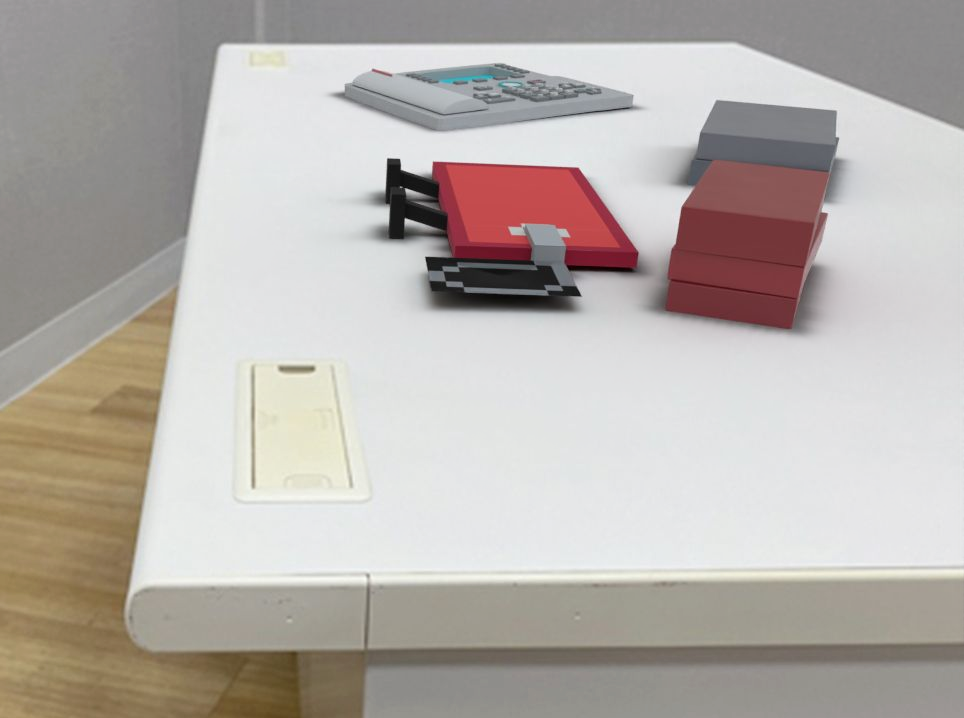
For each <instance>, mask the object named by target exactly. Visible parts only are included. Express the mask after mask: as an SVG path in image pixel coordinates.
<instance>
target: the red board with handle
mask: <svg viewBox="0 0 964 718" xmlns="http://www.w3.org/2000/svg"><path fill="white" fill-rule="evenodd" d="M385 171H386V173H385V195H384V199H385V204H386V205H389V213H388V214H389V215H388V237H389V239H401V240H403V239H404V238H405V223H406V220H409V221H412V222H415V223H419V224H422V225H425V226H428V227H431V228H434V229H438V230H441V231H444V232H446V234H447V239H448V243H449V245H450V251H451V254H452V257H450V256H449V257H447V256H446V257H445V256H424V259H425V264H426V270H427V275H428V280H429V286H430V291H431V292H439V293H440V292H441V293H466V294H467V293H468V294H470V293H471V294H497V295H520V296H521V295H522V296H523V295H524V296H547V297H548V296H551V297H553V296H554V297H575V298H576V297H577V298H581V297H583V296H582V294H581V291H580V289H579V288H578V286H577V283H576V282H575V280H574V278H573V277H572V273H570V270H569V269H568V266H580V267H582V266H583V267H605V268H606V267H609V268H631V269H632V268H633V269H637V268H638V267H637V266H638V260H639V255H640V253H639V251H638V249H637V248H636V246H635V245H634V243H633V242H632V241H631V239H630V238H629V237H628V235H627V234H626V232H625V231H624V229H623V228H622V227H621V225H620V224H619V222H618V221H617V219H616V218H615V217H614V215H613V214H612V213H611V211H610V210H609V208H608V207H607V205H606V204H605V203H604V201H603V200H602V199H601V197H600V196H599V194H598V193H597V191H596V190H595V188H594V187H593V185H592V184H591V183H590V182H589V180H588V178H587V177H586V176H585V174H584V173H583V172H582V170H581V169H580V167H577V166H554V165H553V166H550V165H531V164H530V165H527V164H508V163H507V164H506V163H505V164H504V163H483V162H482V163H479V162H458V161H457V162H455V161H435V160H433V161H432V168H431V176H432V179H430V178H428V177H425V176H422V175H419V174H415V173H412V172H409V171H406V170H403V169H402V161H401V158H391V157H386V170H385ZM406 189H407V190H409V191H412V192H416V193H419V194H421V195H425V196H428V197H431V198H434V199H438V203H439V207H440V209H436V208H433V207H430V206H427V205H424V204H421V203H418V202H414V201H411V200H408V199H407V191H406Z"/></svg>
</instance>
